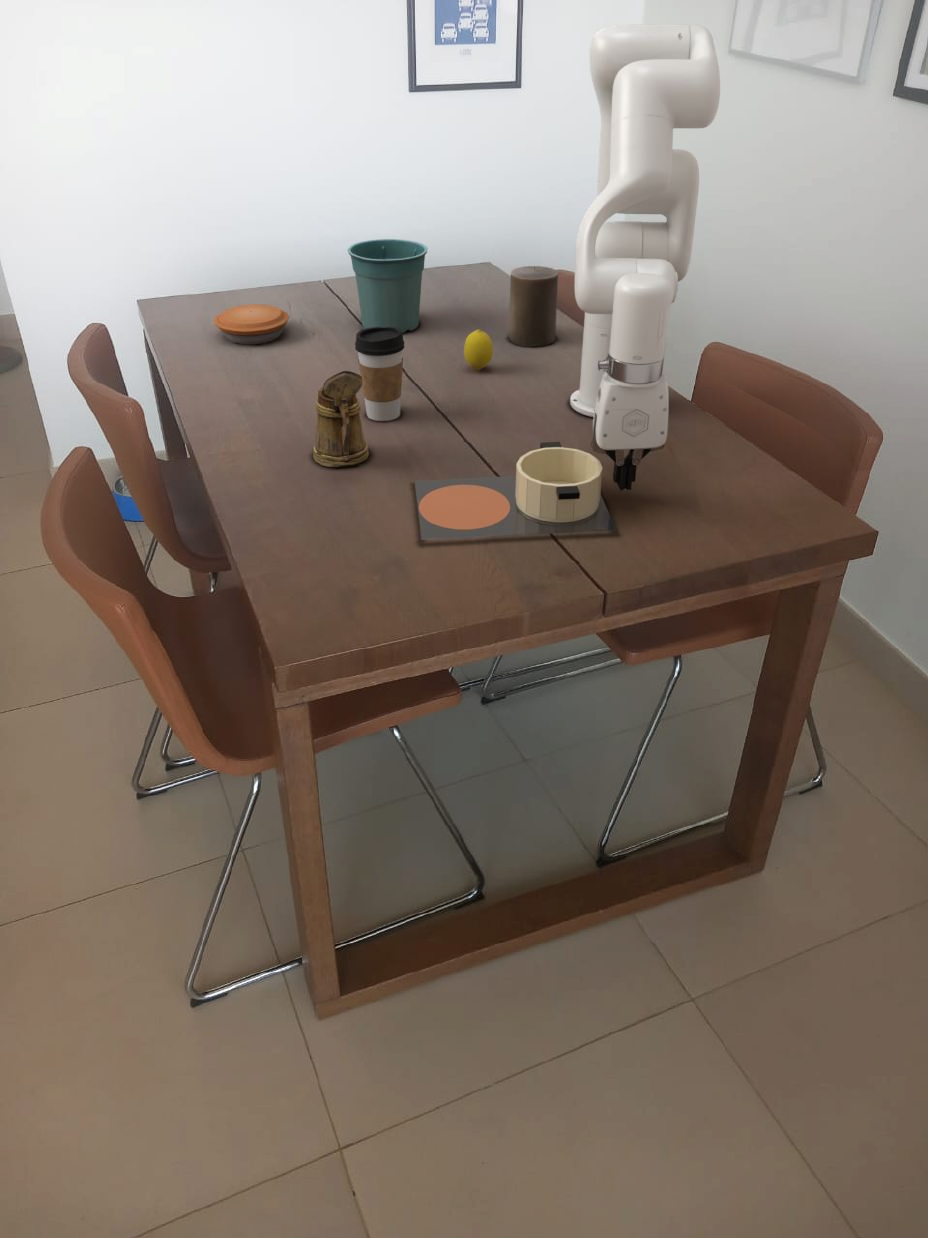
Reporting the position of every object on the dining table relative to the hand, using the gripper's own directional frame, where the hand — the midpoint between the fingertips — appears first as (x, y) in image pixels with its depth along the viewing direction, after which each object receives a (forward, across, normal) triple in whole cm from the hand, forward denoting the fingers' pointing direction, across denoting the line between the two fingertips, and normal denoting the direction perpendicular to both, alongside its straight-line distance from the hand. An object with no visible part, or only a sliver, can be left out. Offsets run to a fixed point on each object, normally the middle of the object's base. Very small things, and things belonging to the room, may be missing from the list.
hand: (623, 485), depth 149 cm
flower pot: (+3, -31, +82) cm, 88 cm away
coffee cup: (+3, -35, +36) cm, 50 cm away
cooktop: (+3, -17, 0) cm, 17 cm away
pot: (+2, -10, 0) cm, 10 cm away
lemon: (+3, -16, +55) cm, 58 cm away
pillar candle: (+3, -2, +71) cm, 71 cm away
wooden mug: (+3, -42, +18) cm, 46 cm away
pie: (+3, -60, +80) cm, 100 cm away
